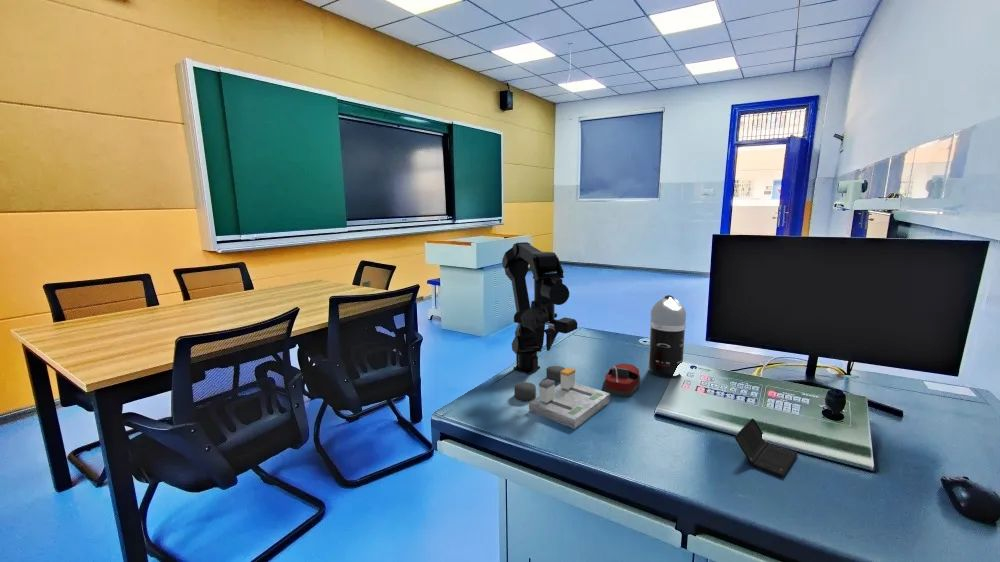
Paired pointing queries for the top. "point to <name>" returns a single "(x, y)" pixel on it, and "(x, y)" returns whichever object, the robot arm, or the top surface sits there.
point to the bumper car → (622, 380)
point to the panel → (571, 405)
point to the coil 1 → (525, 391)
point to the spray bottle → (666, 336)
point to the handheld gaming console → (764, 451)
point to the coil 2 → (554, 373)
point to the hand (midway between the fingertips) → (544, 349)
